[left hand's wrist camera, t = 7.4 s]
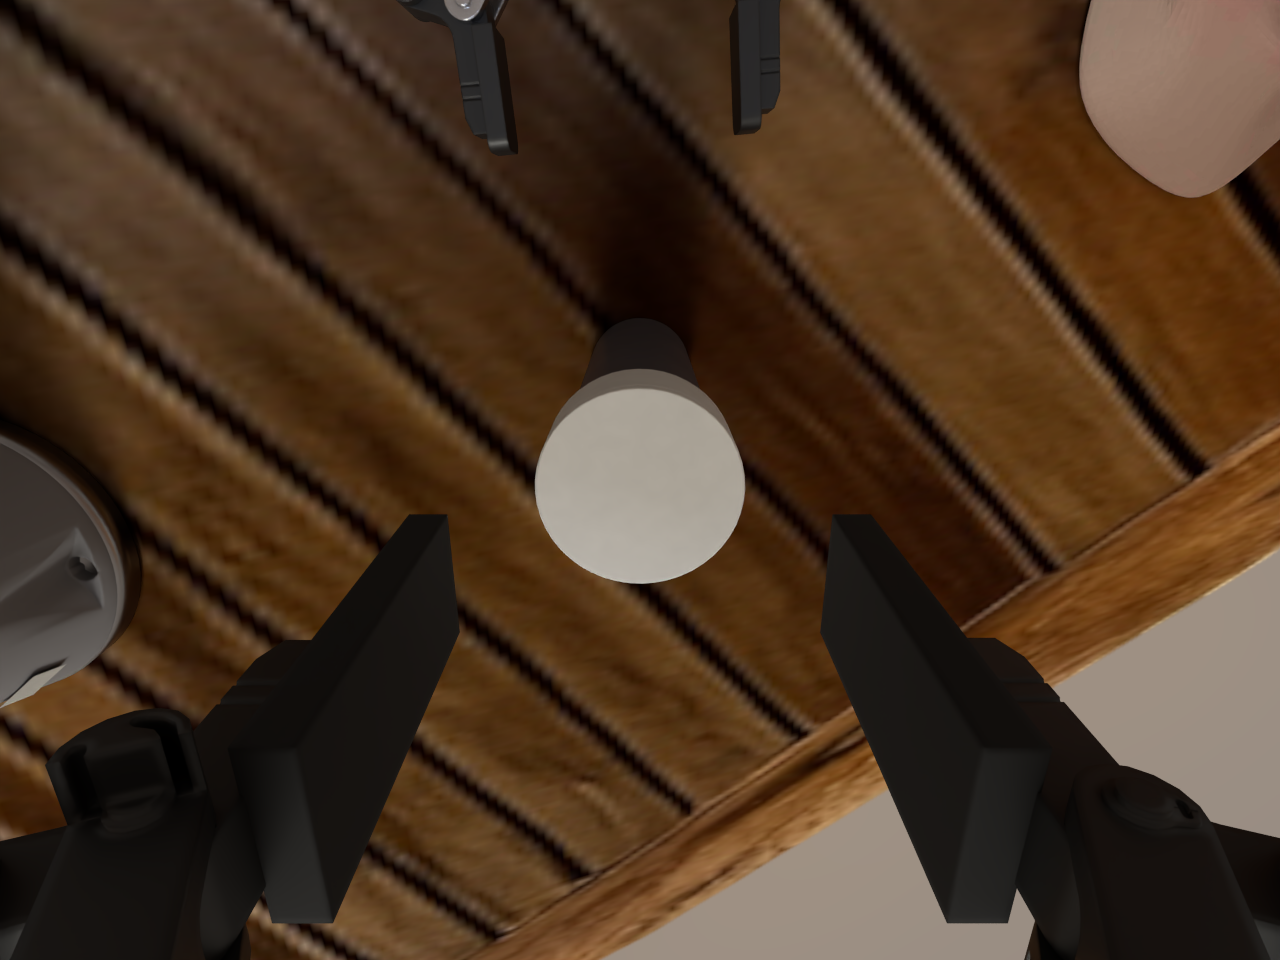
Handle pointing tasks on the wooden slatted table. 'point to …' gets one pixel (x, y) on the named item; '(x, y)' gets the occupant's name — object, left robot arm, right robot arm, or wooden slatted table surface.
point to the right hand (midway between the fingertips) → (625, 142)
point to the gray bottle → (639, 351)
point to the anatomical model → (1183, 86)
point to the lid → (640, 477)
